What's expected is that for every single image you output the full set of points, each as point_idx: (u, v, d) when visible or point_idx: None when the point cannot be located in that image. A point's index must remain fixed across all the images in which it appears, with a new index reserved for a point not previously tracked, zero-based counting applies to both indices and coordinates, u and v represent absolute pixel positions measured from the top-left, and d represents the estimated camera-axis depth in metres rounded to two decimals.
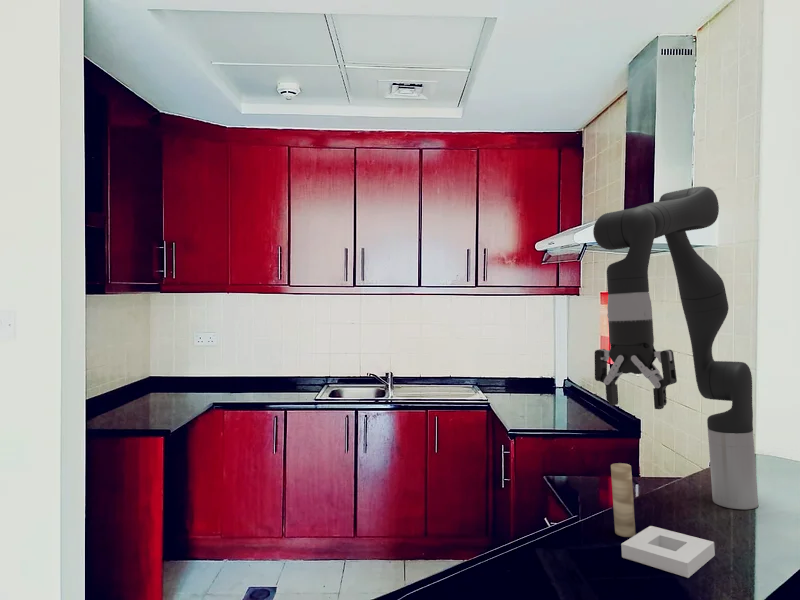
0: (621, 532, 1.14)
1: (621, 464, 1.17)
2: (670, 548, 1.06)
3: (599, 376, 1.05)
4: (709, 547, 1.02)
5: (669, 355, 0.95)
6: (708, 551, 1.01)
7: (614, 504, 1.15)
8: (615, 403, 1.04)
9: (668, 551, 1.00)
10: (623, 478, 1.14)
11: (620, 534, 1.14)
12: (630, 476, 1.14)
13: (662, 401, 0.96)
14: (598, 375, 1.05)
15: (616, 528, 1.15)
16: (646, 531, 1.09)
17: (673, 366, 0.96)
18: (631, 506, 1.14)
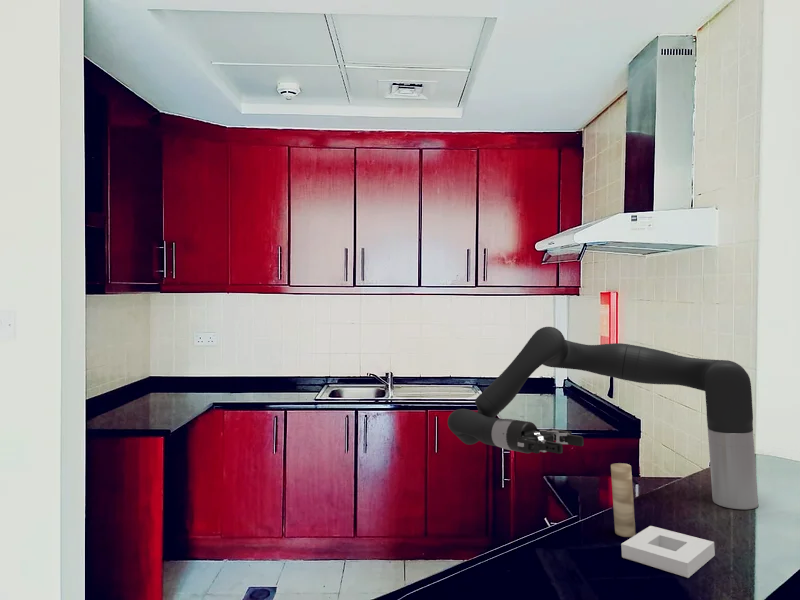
0: (621, 532, 1.14)
1: (621, 464, 1.17)
2: (670, 548, 1.06)
3: None
4: (709, 547, 1.02)
5: (519, 446, 1.27)
6: (708, 551, 1.01)
7: (614, 504, 1.15)
8: (581, 441, 1.27)
9: (668, 551, 1.00)
10: (623, 478, 1.14)
11: (620, 534, 1.14)
12: (630, 476, 1.14)
13: (553, 451, 1.22)
14: None
15: (616, 528, 1.15)
16: (646, 531, 1.09)
17: (526, 443, 1.25)
18: (631, 506, 1.14)
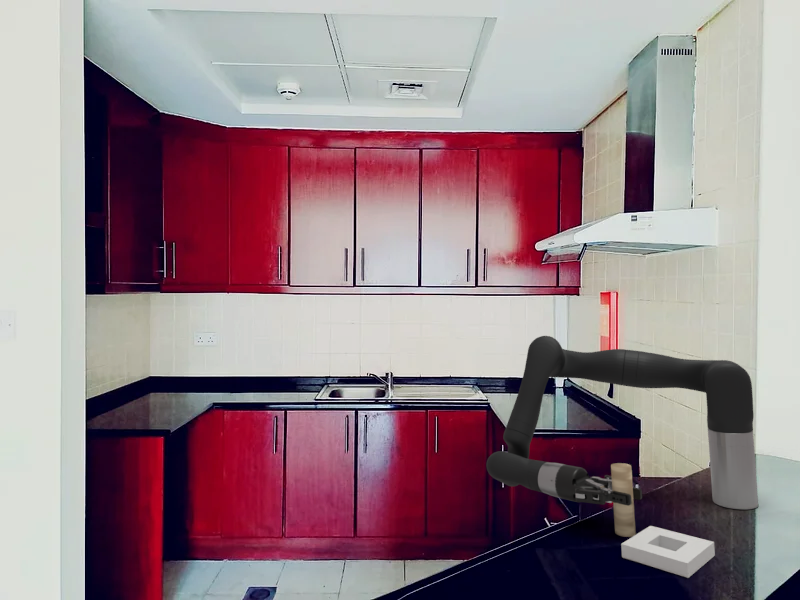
0: (621, 532, 1.14)
1: (621, 464, 1.17)
2: (670, 548, 1.06)
3: None
4: (709, 547, 1.02)
5: (579, 497, 1.16)
6: (708, 551, 1.01)
7: (614, 504, 1.15)
8: (639, 494, 1.15)
9: (668, 551, 1.00)
10: (623, 478, 1.14)
11: (620, 534, 1.14)
12: (630, 476, 1.14)
13: (621, 502, 1.12)
14: None
15: (616, 528, 1.15)
16: (646, 531, 1.09)
17: (589, 494, 1.15)
18: (632, 506, 1.14)
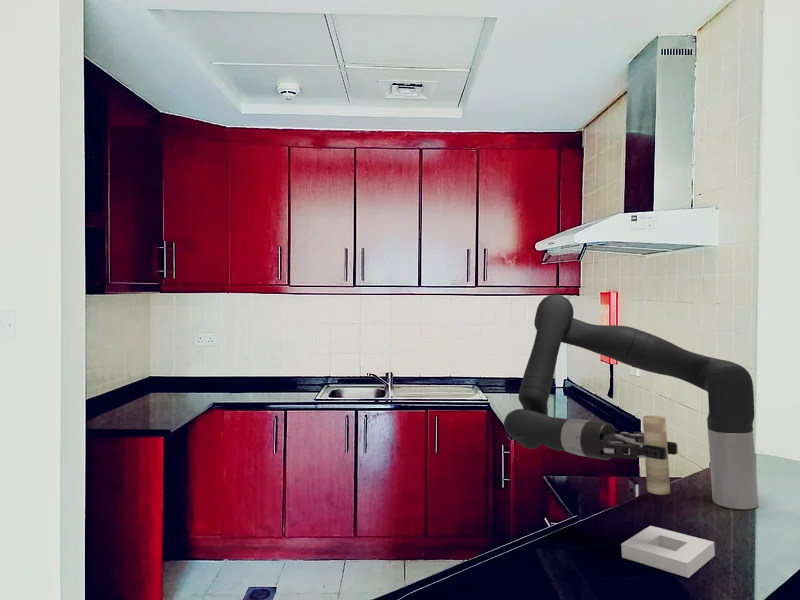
0: (654, 489, 1.04)
1: (654, 416, 1.06)
2: (670, 548, 1.06)
3: None
4: (709, 547, 1.02)
5: (608, 452, 1.06)
6: (708, 551, 1.01)
7: (647, 459, 1.05)
8: (674, 449, 1.04)
9: (668, 551, 1.00)
10: (657, 430, 1.03)
11: (653, 492, 1.04)
12: (665, 428, 1.04)
13: (655, 457, 1.02)
14: None
15: (649, 485, 1.05)
16: (646, 531, 1.09)
17: (619, 448, 1.05)
18: (666, 461, 1.04)
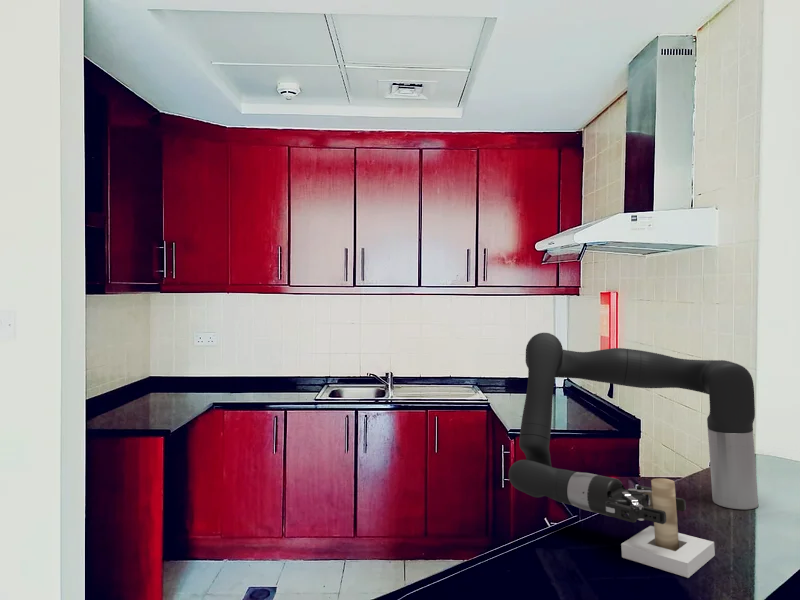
0: None
1: (663, 479, 1.05)
2: None
3: None
4: (709, 547, 1.02)
5: (609, 511, 1.05)
6: (708, 551, 1.01)
7: (655, 524, 1.04)
8: (682, 505, 1.05)
9: (668, 551, 1.00)
10: (666, 496, 1.02)
11: None
12: (674, 493, 1.03)
13: (655, 520, 1.00)
14: None
15: None
16: (646, 531, 1.09)
17: (618, 509, 1.04)
18: (675, 527, 1.02)
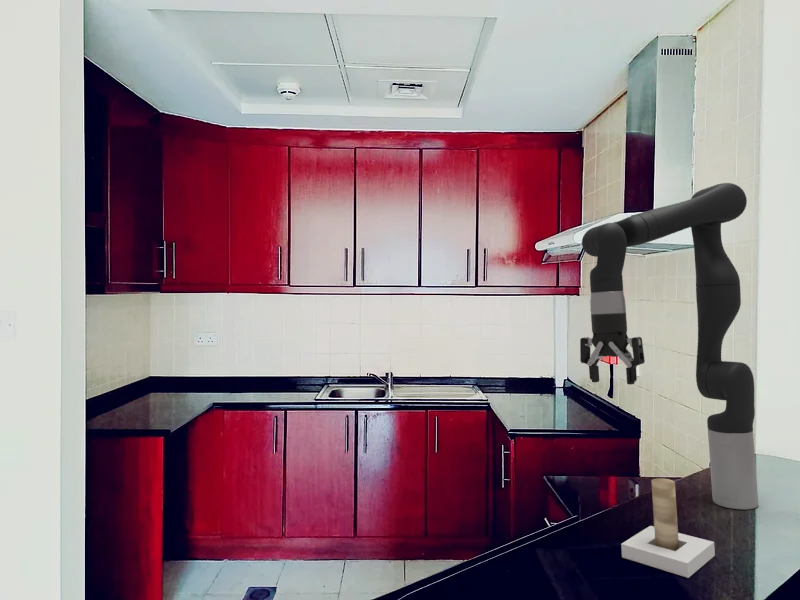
0: None
1: (663, 479, 1.05)
2: None
3: (584, 359, 1.29)
4: (709, 547, 1.02)
5: (638, 341, 1.20)
6: (708, 551, 1.01)
7: (655, 524, 1.04)
8: (596, 381, 1.28)
9: (668, 551, 1.00)
10: (667, 496, 1.02)
11: None
12: (674, 493, 1.02)
13: (633, 378, 1.21)
14: (583, 358, 1.29)
15: None
16: (646, 531, 1.09)
17: (641, 350, 1.20)
18: (676, 527, 1.02)
